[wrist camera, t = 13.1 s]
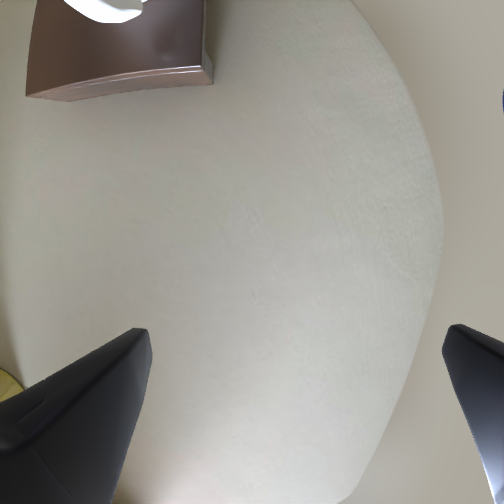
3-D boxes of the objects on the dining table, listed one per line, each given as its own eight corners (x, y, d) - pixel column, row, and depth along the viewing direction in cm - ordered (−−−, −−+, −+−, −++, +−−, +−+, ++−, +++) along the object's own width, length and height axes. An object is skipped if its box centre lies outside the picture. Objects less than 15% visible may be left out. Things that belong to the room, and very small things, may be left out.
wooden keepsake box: (218, -45, 14) (210, -85, 9) (213, 84, 17) (201, 66, 13) (81, -20, 14) (48, -45, 9) (68, 102, 17) (24, 97, 13)
